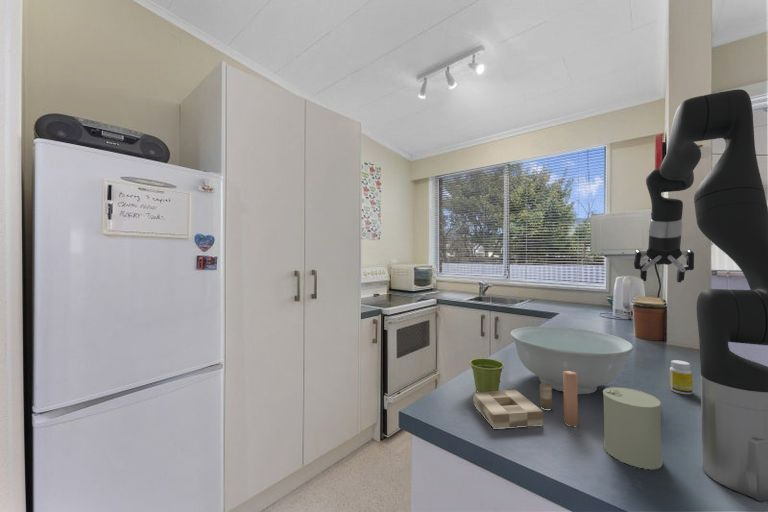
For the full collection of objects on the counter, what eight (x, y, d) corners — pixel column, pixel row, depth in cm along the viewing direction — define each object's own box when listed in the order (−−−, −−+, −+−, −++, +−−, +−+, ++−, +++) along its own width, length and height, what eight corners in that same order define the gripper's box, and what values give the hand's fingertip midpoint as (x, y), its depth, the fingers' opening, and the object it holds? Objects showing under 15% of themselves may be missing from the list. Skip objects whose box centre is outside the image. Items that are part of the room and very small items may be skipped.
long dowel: (580, 426, 73) (579, 374, 73) (569, 427, 73) (568, 375, 73) (572, 420, 76) (571, 370, 76) (561, 421, 76) (560, 371, 76)
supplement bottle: (697, 395, 88) (696, 365, 88) (677, 394, 89) (676, 364, 89) (684, 388, 93) (683, 359, 93) (665, 387, 94) (665, 359, 94)
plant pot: (472, 384, 98) (471, 356, 98) (504, 389, 94) (504, 360, 94) (468, 397, 89) (467, 366, 89) (503, 402, 86) (503, 370, 86)
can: (605, 436, 69) (604, 381, 69) (661, 451, 63) (660, 392, 63) (601, 456, 62) (600, 395, 62) (663, 477, 56) (662, 409, 56)
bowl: (617, 373, 105) (616, 329, 105) (651, 419, 76) (650, 358, 76) (513, 361, 119) (512, 322, 119) (508, 396, 90) (507, 344, 90)
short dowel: (554, 410, 81) (554, 387, 81) (544, 411, 81) (543, 387, 81) (547, 405, 84) (547, 382, 84) (537, 406, 83) (537, 383, 83)
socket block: (543, 426, 74) (542, 411, 74) (493, 430, 72) (493, 414, 72) (516, 402, 85) (515, 389, 85) (473, 405, 84) (473, 392, 84)
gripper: (637, 237, 99) (635, 284, 104) (700, 236, 91) (694, 286, 96) (634, 230, 105) (632, 275, 110) (693, 228, 97) (687, 277, 102)
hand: (661, 280), depth 103 cm, fingers open, 8 cm apart
